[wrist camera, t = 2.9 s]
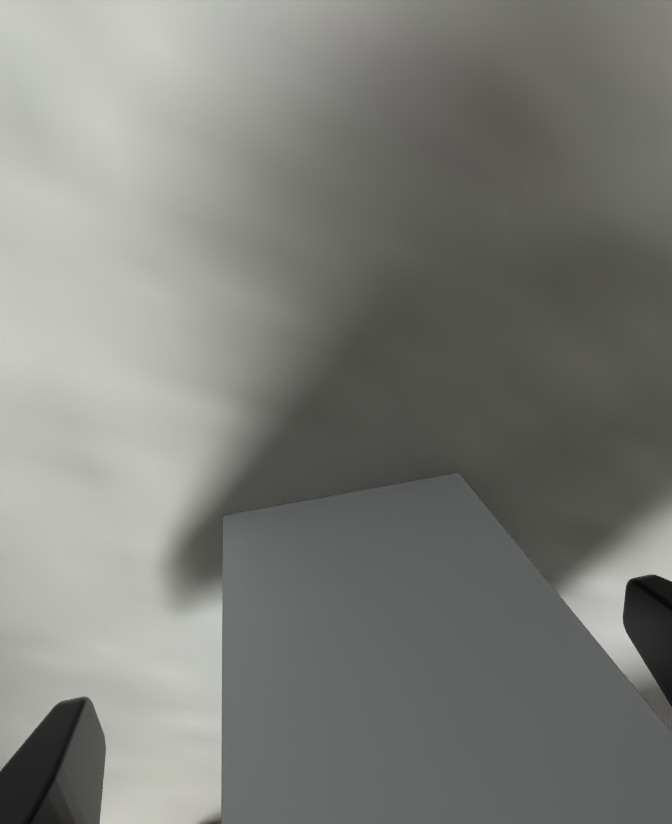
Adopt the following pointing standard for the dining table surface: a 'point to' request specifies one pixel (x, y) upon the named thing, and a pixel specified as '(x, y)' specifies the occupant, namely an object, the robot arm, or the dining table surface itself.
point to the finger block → (418, 674)
